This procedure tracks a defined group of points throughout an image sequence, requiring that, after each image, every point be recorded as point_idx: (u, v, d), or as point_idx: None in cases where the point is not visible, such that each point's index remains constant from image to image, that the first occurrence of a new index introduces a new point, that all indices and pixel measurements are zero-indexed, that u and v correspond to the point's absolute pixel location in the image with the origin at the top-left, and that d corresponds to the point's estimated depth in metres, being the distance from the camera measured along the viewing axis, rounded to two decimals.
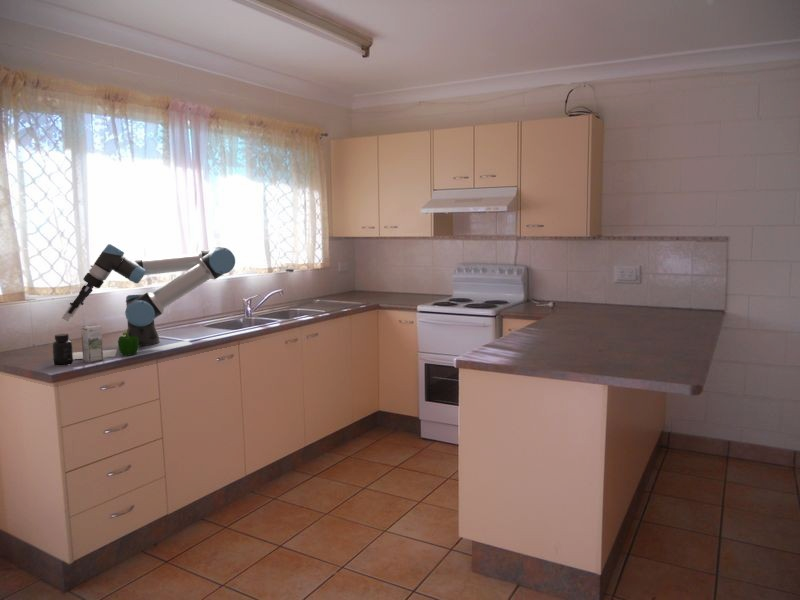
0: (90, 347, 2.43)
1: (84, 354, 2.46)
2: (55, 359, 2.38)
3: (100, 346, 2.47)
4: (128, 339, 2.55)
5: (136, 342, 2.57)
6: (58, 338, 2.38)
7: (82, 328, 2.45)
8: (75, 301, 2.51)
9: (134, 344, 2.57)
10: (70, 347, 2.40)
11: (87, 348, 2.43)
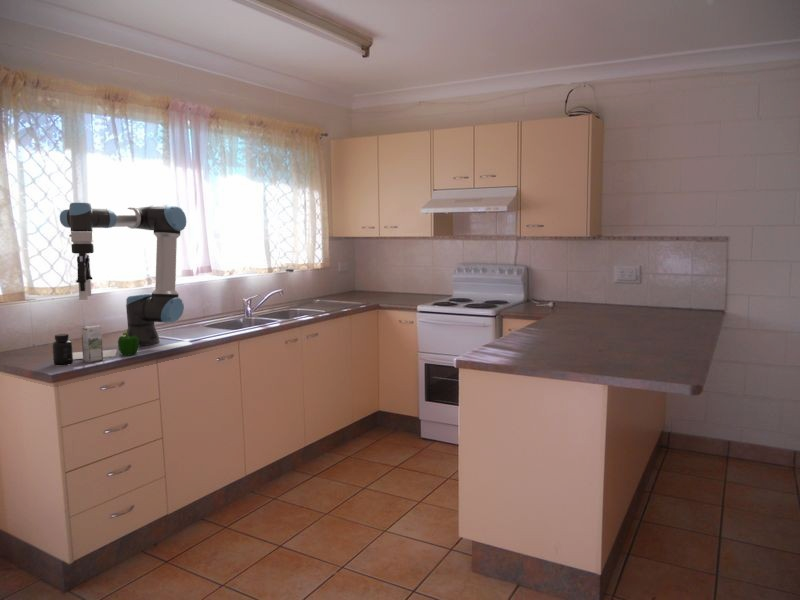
0: (90, 347, 2.43)
1: (84, 354, 2.46)
2: (55, 359, 2.38)
3: (100, 346, 2.47)
4: (128, 339, 2.55)
5: (136, 342, 2.57)
6: (58, 338, 2.38)
7: (82, 328, 2.45)
8: (79, 276, 2.25)
9: (134, 344, 2.57)
10: (70, 347, 2.40)
11: (87, 348, 2.43)
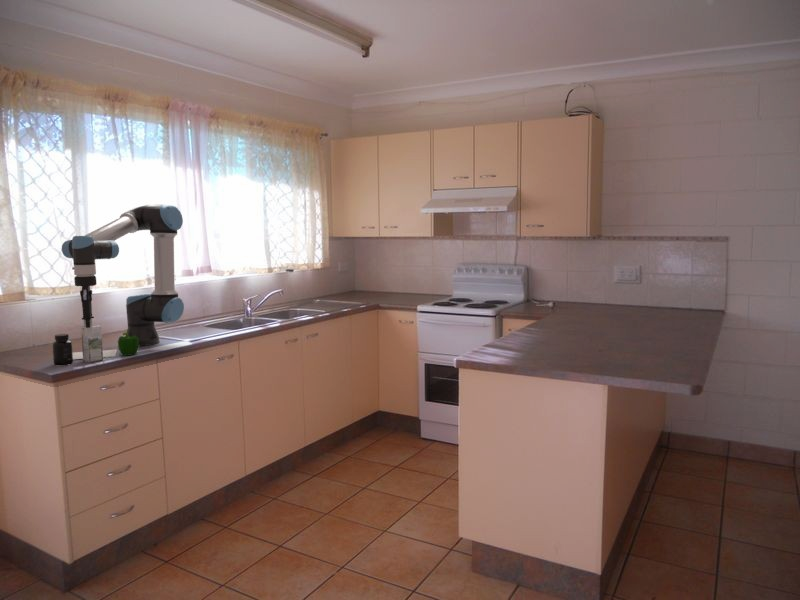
0: (90, 347, 2.43)
1: (84, 354, 2.46)
2: (55, 359, 2.38)
3: (100, 346, 2.47)
4: (128, 339, 2.55)
5: (136, 342, 2.57)
6: (58, 338, 2.38)
7: (82, 328, 2.45)
8: (84, 314, 2.32)
9: (134, 344, 2.57)
10: (70, 347, 2.40)
11: (87, 348, 2.43)
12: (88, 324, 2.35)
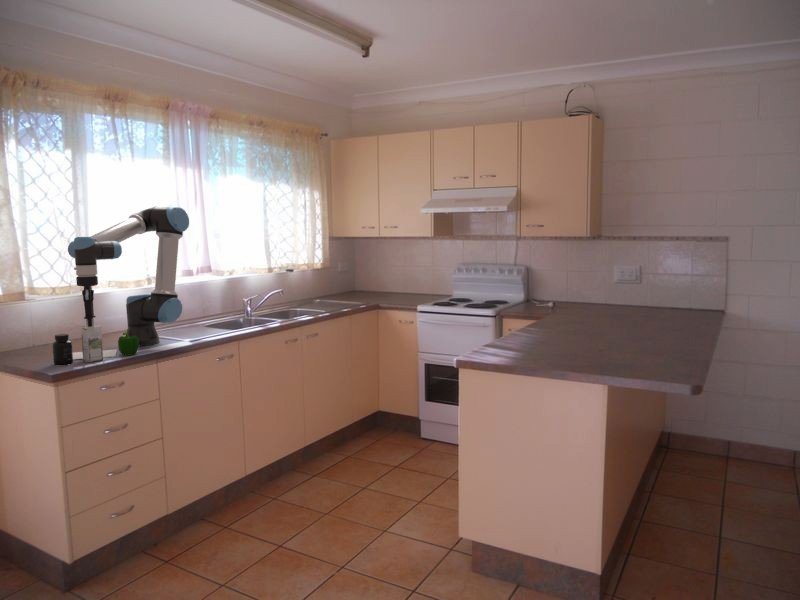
0: (89, 346, 2.43)
1: (84, 354, 2.46)
2: (55, 359, 2.38)
3: (100, 346, 2.47)
4: (128, 339, 2.55)
5: (136, 342, 2.57)
6: (58, 338, 2.38)
7: (82, 328, 2.45)
8: (86, 314, 2.37)
9: (134, 344, 2.57)
10: (70, 347, 2.40)
11: (87, 347, 2.43)
12: (90, 323, 2.40)
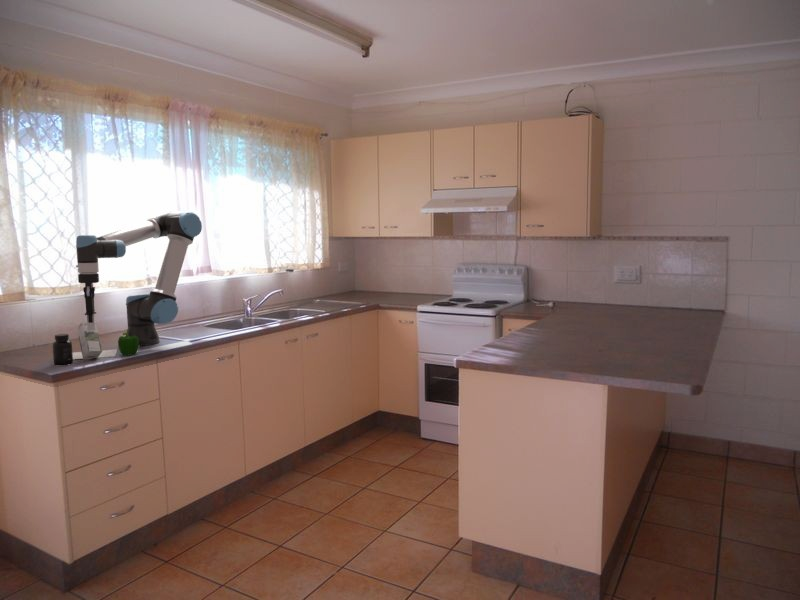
0: (87, 338, 2.47)
1: (83, 351, 2.47)
2: (55, 359, 2.38)
3: (97, 339, 2.50)
4: (128, 339, 2.55)
5: (136, 342, 2.57)
6: (58, 338, 2.38)
7: (78, 329, 2.52)
8: (87, 310, 2.44)
9: (134, 344, 2.57)
10: (70, 347, 2.40)
11: (84, 340, 2.47)
12: (91, 319, 2.47)
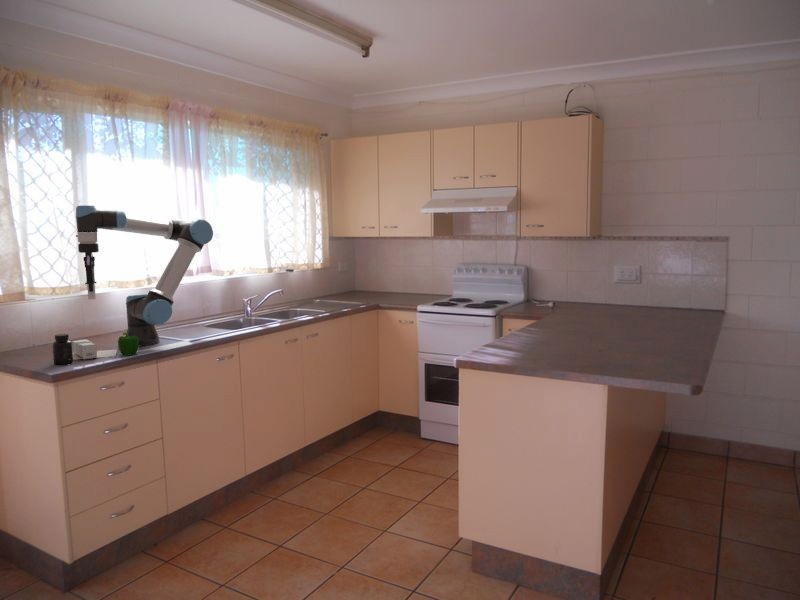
0: (79, 343, 2.52)
1: (80, 354, 2.49)
2: (55, 359, 2.38)
3: (90, 342, 2.54)
4: (128, 339, 2.55)
5: (136, 342, 2.57)
6: (58, 338, 2.38)
7: (73, 351, 2.57)
8: (88, 279, 2.49)
9: (134, 344, 2.57)
10: (70, 347, 2.40)
11: (77, 345, 2.51)
12: (91, 288, 2.52)
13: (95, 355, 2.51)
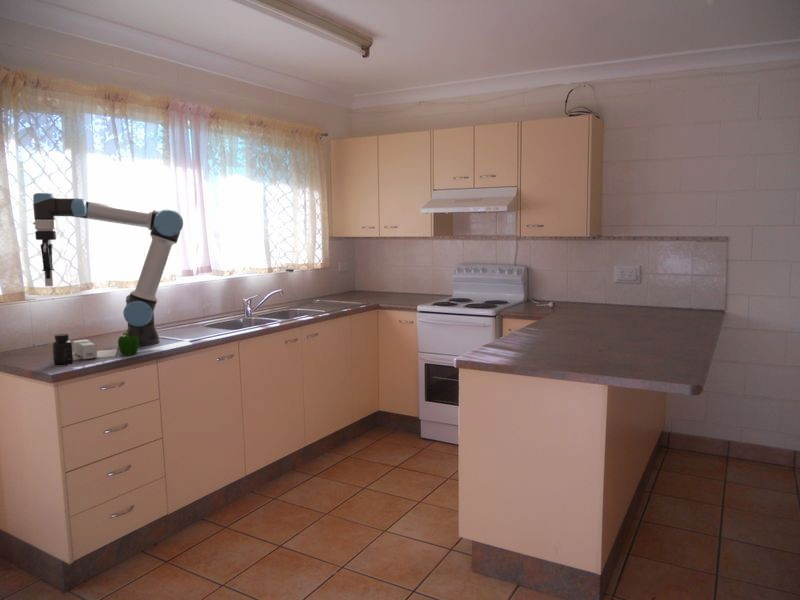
0: (79, 343, 2.52)
1: (80, 354, 2.49)
2: (55, 359, 2.38)
3: (90, 342, 2.54)
4: (128, 339, 2.55)
5: (136, 342, 2.57)
6: (58, 338, 2.38)
7: (73, 351, 2.57)
8: (44, 266, 2.52)
9: (134, 344, 2.57)
10: (70, 347, 2.40)
11: (78, 345, 2.51)
12: (48, 275, 2.55)
13: (95, 355, 2.51)
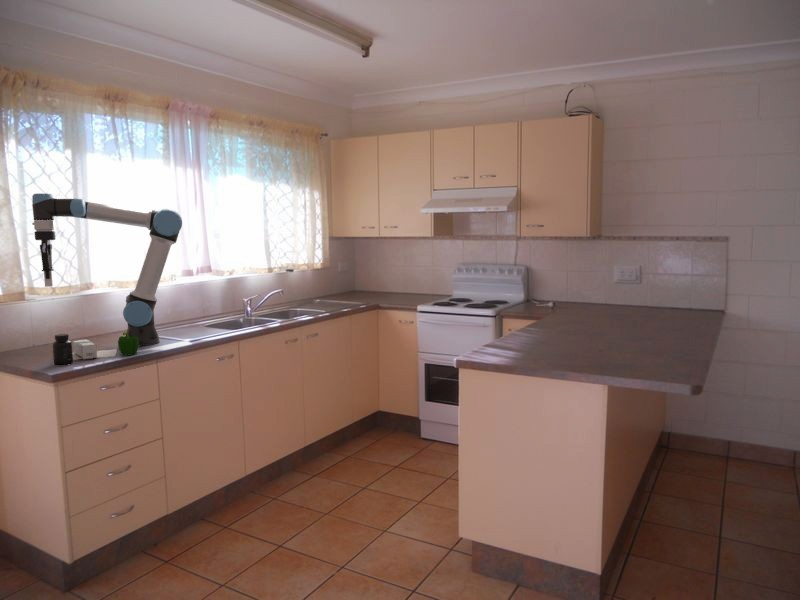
0: (79, 343, 2.52)
1: (80, 354, 2.49)
2: (55, 359, 2.38)
3: (90, 342, 2.54)
4: (128, 339, 2.55)
5: (136, 342, 2.57)
6: (58, 338, 2.38)
7: (73, 351, 2.57)
8: (44, 266, 2.52)
9: (134, 344, 2.57)
10: (70, 347, 2.40)
11: (78, 345, 2.51)
12: (48, 275, 2.55)
13: (95, 355, 2.51)
